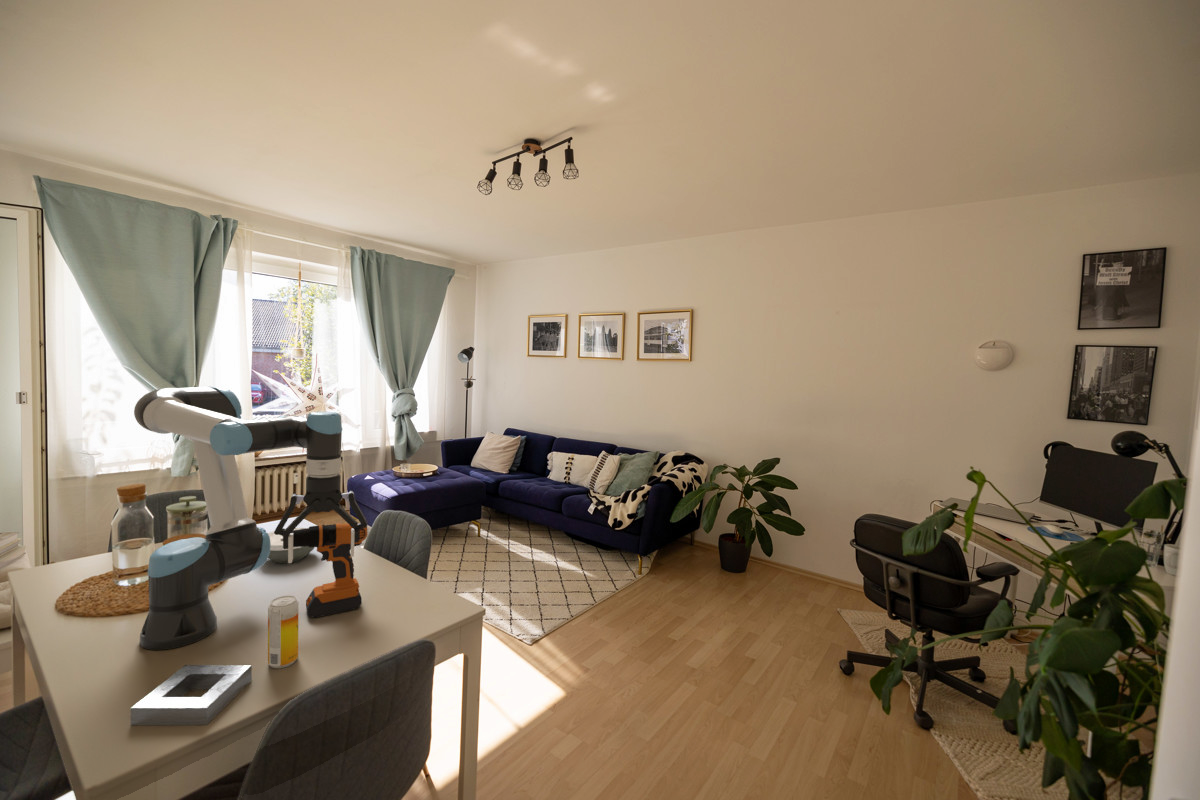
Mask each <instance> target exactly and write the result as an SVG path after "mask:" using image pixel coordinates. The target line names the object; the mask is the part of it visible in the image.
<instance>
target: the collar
mask: <svg viewBox="0 0 1200 800" xmlns="http://www.w3.org/2000/svg"><path fill="white" fill-rule="evenodd" d="M252 672H253V668H252V665H251V664H250V665H249V664H248V665H247V664H245V665H244V664H242V665H241V664H240V665H239V664H236V665H235V664H226V665H225V664H185V665H183V666H182V667H181V668H180V669H178V670H177V671H176V672H175V673H173V674H172V675H170V677H168V678H167V679H166V680H165V681H163V682H162V683H160V684H159V685H158V686H157V687H155V688H154V689H153V690H152V691H150V692H149V693H148V694H147V695H145V696H144V697H143V698H142V699H140V700H139V701H138V702H136V703H134V705H133V706H131V707H130V726H207V725H209V724H210V723H211V721H212V720H213V719H215V717H217V716H218V715H219V713H220V712H222V711H223V710H224V708H226V707H227V706H228V705H229V703H231V701H233V700H234V698H236V697H237V696H238V694H240V693H241V692H242V691H243V689H245V688H246V687H247V685H249V684H250V683H251V682H252V680H253V679H252V678H253V677H252V676H253V674H252ZM190 690H195V691H196V690H197V691H198V690H199V691H200V690H205V691H206V690H207V691H206V692H205V693H204V694H203V695H202V696H184V695H185V694H186V693H188V692H189V691H190Z"/></svg>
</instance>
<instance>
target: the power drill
mask: <svg viewBox="0 0 1200 800" xmlns="http://www.w3.org/2000/svg"><path fill="white" fill-rule="evenodd" d="M358 523H360V521H359V522H358ZM304 528H305V529H300V530H293V531H292V532H291V533H293V547H305V546H309V547H314V548H316V552H317V553H320V554H321V555H322V557H321V558H320V559H321V561H322V562H324V561H326V562H327V563H328V562H331V563H332V571H333V574H334V575H333V576H334V579H335V580H334V581H333V582H328V583H323V584H322V585H319V586H315V587H314V588H313V589H312V590H311V592H310V594H309V595H308V597H307V598H306V600H305V608H306V609H305V610H306V614H307V616H308V617H312V618H314V619H316V618H319V617H325V616H330V615H335V614H339V613H344V612H347V611H348V612H349V611H352V610H357V609H359V608H360V607H361V605H362V595H361V593H360V585H359V582H358V579H357V578H354V576H355V574H354V572H355V568H354V567H355V565H354V560H353V557H351V528H352V527H351V526H350V525H349V524H348V523H347V522H346V523H334V524H326V525H325V524H319V525H312V526H309V527H304ZM367 536H368V526H367V527H366V528H362V529H360V534H359V542H356V543H354V548H355V547H358V546H360V545H361V544H362V543H363V541H365V540H366V539H367ZM281 541H283V538H282V539H281Z"/></svg>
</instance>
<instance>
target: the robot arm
mask: <svg viewBox="0 0 1200 800" xmlns="http://www.w3.org/2000/svg"><path fill="white" fill-rule="evenodd" d="M133 410H134V411H133V414H134V415H133V416H134V419H135V420H136V422H137V423H138V425H140V426H141V427H142V428H144V429H145V430H147V431H151V432H153V433H156V434H157V433H158V434H164V435H166V434H171V433H173V434H175V435H179V436H181V437H184V438H185V439H186V440H187V441H190V442H192V444H193V449H194V454H195V458H196V462H197V468H198V473H199V477H200V482H201V486H202V491H203V495H204V501H205V507H206V510H207V511H206V512H207V515H208V519H209V525H210V527H209V529H208V530H207V531H206V533H205V534H204V535H205V536H204V537H202V536H201V537H200V536H198V537H193V536H192V537H189V538H181V539H178V540H175V541H171V542H169V543H166V544H164V545H162V546H159V547H158V548H157V549H155V550H154V551H153V552H152V554H151V555H150V556H149V558H148V559H149V560H148V567H147V575H148V605H149V606H148V614H147V615H146V618H145V621H144V623H143V626H142V627H141V631H140V635H139V644H140V646H141V647H142V648H143V649H145V650H151V651H161V650H170V649H176V648H180V647H184V646H187V645H190V644H193V643H196V642H198V641H201V640H202V639H205V638H206V637H208V636H209V635H211V634H213V632H215V630H216V629H217V627H218V619H217V618H218V617H217V614H216V613H215V611H214V608H213V607H212V603H211V601H210V599H209V587H210V586H213V585H215V584H218V583H221V582H224V581H227V580H230V579H232V578H236V577H239V576H242V575H247V574H249V573H251V572H252V571H255V570H258V569H260V568H261V567H262V566H264V565H265V563H266V562H267V560H268V557H269V554H270V548H271V543H270V537H269V535H268V533H269V532H267V531H266V529H265V528H263V527H260V526H257V522H256V520H254V519H252V518H250V517H249V516H248V515H249V514H248V511H247V506H246V501H245V496H244V491H243V488H242V483H241V478H240V474H239V469H238V465H237V458H236V456H239V455H245V454H249V453H251V454H252V453H256V452H257V453H258V452H263V451H271V450H280V449H286V448H302V449H306V454H305V456H306V460H305V461H306V462H305V463H306V466H305V468H306V470H305V472H306V474H307V476H306V477H305V494H304V495H299V494H297V493H293V494H292V495H291V497H290V501H289V505H288V507H287V508H286V511H285V512H284V514H283V515H282V517H281V519H280V521H279V523H278V525H277V526H276V528H275V529H274V534H275V535H282V536H283V548H284V549H288V563H287V564H292V563H293V562H292V560H293V533H291V532H292V531H293V530H294V529H295V528H298V526H299V525H300V524H301V523H302V522H303V520H304V519H306V518H307V516H308V515H309V514H311V513H312V512H314V513H315V514H317V513H318V514H319V513H322V512H325V513H330V512H332V511H334V512H335V513H336V514H338V515H339V516H340V517H341V518H342V519H343V520H344V521H345V522H346V524H347V523H348V524H349V525H350V526H351V527H352V528H351V550H350V554H351V557H352V558H353V557H355V547H354V543H356V542H359V534H360V529H362V528H366V527H367V528H368V520H367V519H366V516H365V515H364V513H363V512H362V510H361V508H360V506H359V505H358V504H359V503H357V500H356V499H355V492H354V491H353V490H349V492H344V493H342V491H341V475H340V473H341V471H342V433H343V432H342V431H343V427H342V416H341V414H340V413H339V412H335V411H312V412H309V413H308V414H307V417H302V416H297V415H293V414H292V415H280V416H278V417H276V418H263V419H243V418H242V416H241V415H242V413H243V410H242V405H241V402H240V400H239V398H238V397H237V395H236V394H235V393H234V392H232V390H230V389H228V388H226V387H219V386H216V387H215V386H203V387H202V386H201V387H200V386H199V387H198V386H197V387H162V388H157V389H154V390H152V391H151V390H150V392H148V393H146V394H144V395H143V396H142V397H141V398H139V400H138V401H137V402H136V403H135V405H134V409H133ZM342 499H344V500H345V502H348V503H349V506H350V507H351V510H352V511H353V513H354V514H355V516H356V518H357V519H358V521H359V522H360V523H359V522H358V521H357V520H356V519H355V518H354V517H352V516H351V514H350V513H349V512H347V510H346V509H345V508H343V506H342V505H341V504H340V502H341V501H342ZM301 502H304V503H305V504H306V505H307V506H306V507H305V508H304V509H303V510H302V511H301V512H300V513H299V515H298V516H296V517H295V518H294V520H293V521H292V522H291V523H290V524H289V525H288V526H287V527H286V528H284V527H285V525H286V524H287V522H288V520H289V518H290V516H292V514H293V511H294V510H295V508H296V506H297V505H299V504H301Z"/></svg>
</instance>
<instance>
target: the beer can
mask: <svg viewBox="0 0 1200 800" xmlns="http://www.w3.org/2000/svg"><path fill="white" fill-rule="evenodd" d="M297 598H298V597H296V596H295V595H283V596H278V597H276V598H274V599H272V600H270V603H269V605H268V607H267V664H268V666H270V667H271V668H273V669H283V668H287V667H290V666H291V665H293V664H294V663H295V662H296V660H297V659H298V657H299V601H298V599H297Z"/></svg>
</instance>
